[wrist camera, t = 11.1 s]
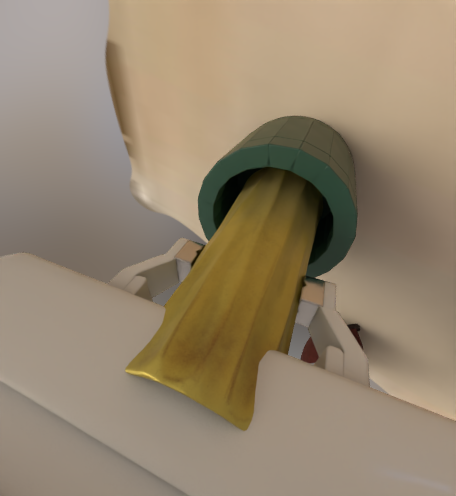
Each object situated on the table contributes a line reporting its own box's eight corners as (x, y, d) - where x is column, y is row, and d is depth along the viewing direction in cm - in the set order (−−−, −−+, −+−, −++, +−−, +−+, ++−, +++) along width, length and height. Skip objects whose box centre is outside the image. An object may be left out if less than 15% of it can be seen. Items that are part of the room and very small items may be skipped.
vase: (244, 157, 16) (73, 334, 6) (336, 172, 15) (309, 446, 5) (239, 227, 20) (131, 404, 10) (310, 245, 19) (266, 476, 9)
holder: (238, 107, 18) (194, 130, 13) (378, 126, 16) (394, 165, 11) (231, 215, 25) (200, 259, 20) (328, 240, 23) (322, 299, 17)
